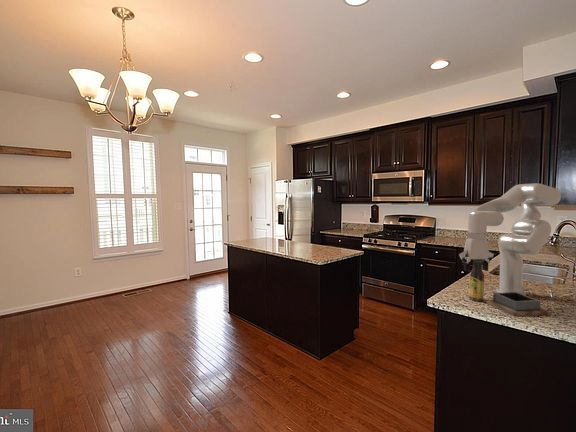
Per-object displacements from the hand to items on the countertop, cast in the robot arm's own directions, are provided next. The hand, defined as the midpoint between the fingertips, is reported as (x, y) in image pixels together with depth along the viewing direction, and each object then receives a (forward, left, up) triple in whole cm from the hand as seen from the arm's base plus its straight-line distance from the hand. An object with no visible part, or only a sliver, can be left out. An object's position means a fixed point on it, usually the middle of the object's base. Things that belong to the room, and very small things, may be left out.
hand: (475, 270), depth 142 cm
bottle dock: (-9, +13, -15) cm, 22 cm away
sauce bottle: (0, 0, -15) cm, 15 cm away
